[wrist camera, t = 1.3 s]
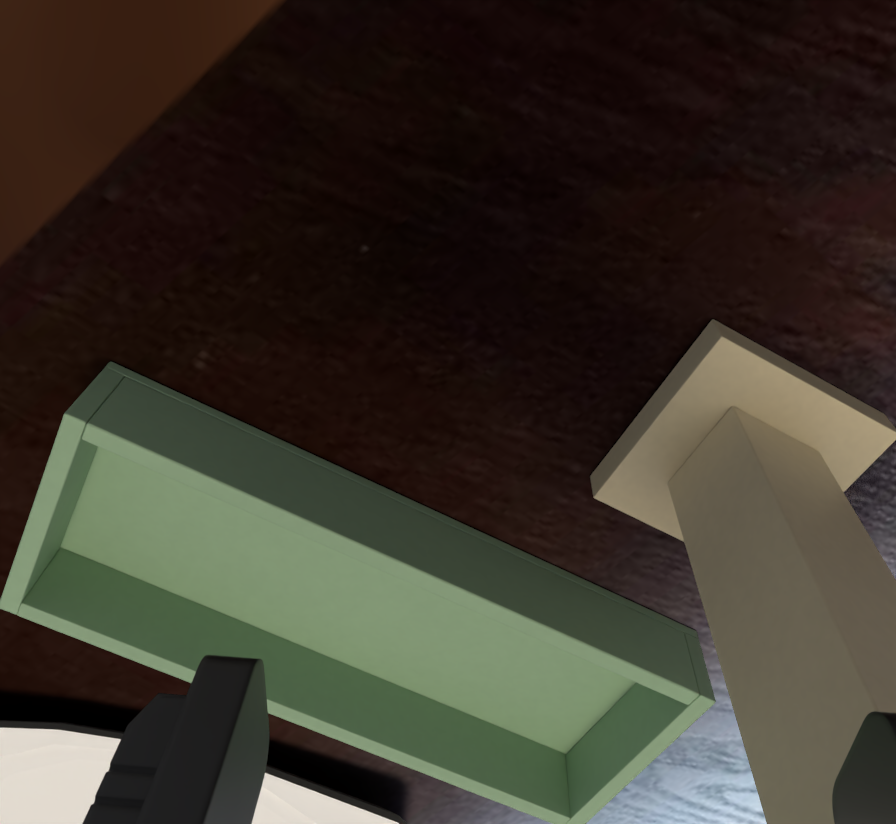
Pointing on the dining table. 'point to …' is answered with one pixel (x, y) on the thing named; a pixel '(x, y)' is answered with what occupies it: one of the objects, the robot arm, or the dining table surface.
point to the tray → (347, 604)
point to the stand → (771, 551)
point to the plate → (88, 759)
